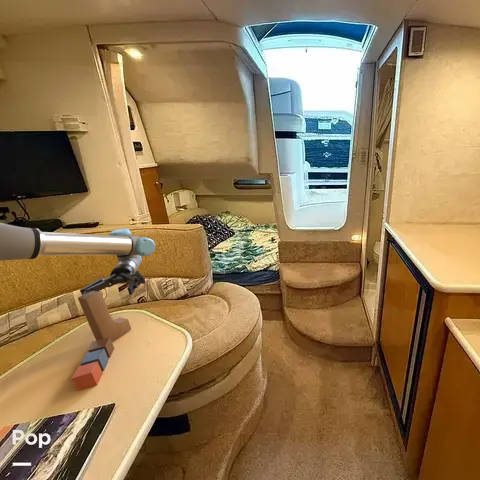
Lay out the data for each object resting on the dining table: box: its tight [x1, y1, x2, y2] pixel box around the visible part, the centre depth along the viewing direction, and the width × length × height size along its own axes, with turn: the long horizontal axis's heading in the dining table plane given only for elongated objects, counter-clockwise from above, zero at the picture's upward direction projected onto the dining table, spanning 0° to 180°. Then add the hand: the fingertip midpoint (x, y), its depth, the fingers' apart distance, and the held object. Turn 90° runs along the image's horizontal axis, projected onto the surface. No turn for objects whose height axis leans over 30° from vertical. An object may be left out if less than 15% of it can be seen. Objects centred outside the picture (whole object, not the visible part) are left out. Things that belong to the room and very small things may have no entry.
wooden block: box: [77, 291, 132, 343], centre depth 89 cm, size 9×4×18 cm, turn 161°
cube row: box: [70, 337, 115, 392], centre depth 78 cm, size 15×4×4 cm, turn 22°
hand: (107, 296), depth 93 cm, fingers open, 13 cm apart
